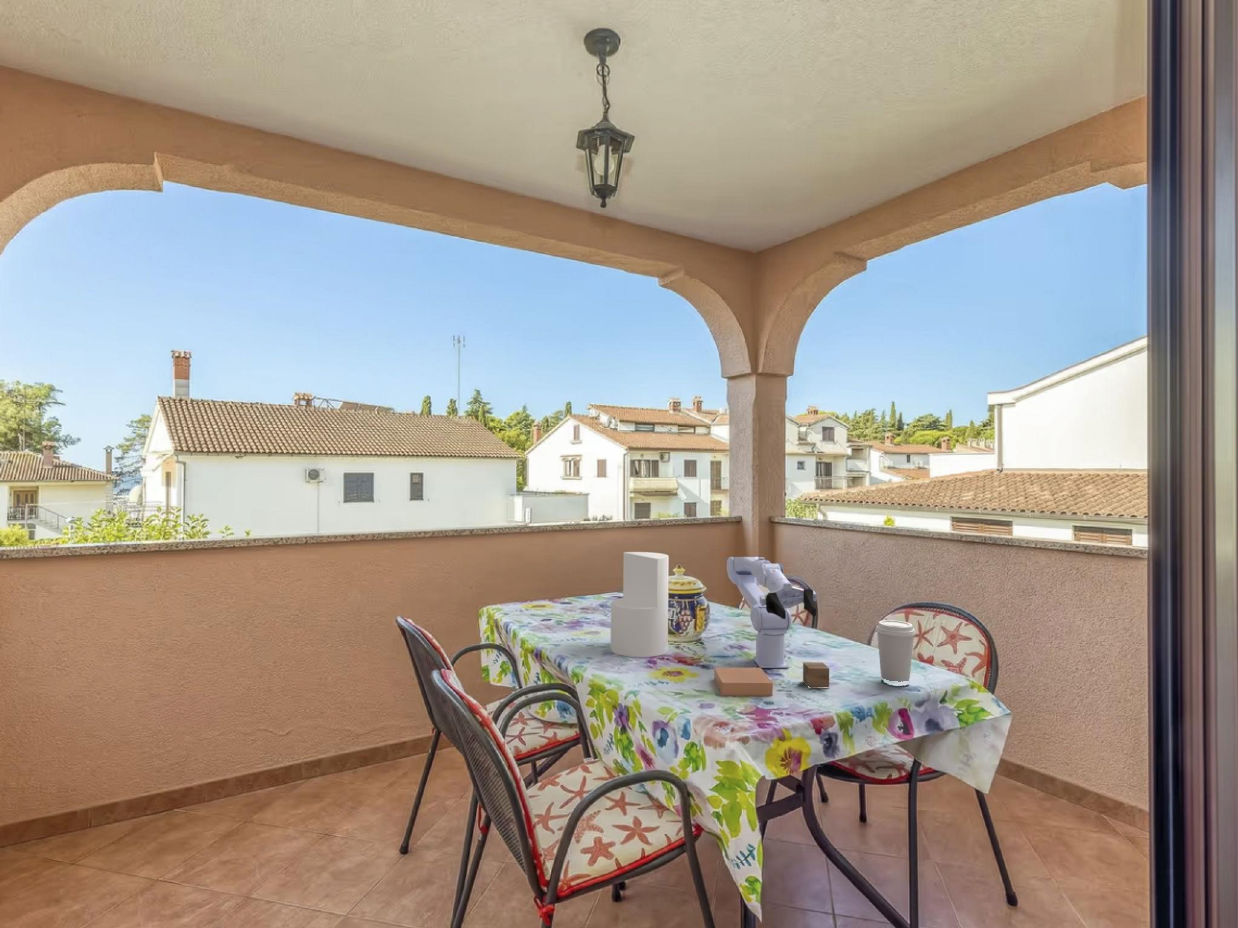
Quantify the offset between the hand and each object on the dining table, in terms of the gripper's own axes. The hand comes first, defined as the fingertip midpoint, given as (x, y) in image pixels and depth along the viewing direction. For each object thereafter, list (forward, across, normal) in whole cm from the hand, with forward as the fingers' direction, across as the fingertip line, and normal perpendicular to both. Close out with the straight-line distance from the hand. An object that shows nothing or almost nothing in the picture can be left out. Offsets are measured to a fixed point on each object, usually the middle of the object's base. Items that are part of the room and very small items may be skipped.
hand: (799, 613), depth 158 cm
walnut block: (+2, +4, +19) cm, 20 cm away
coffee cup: (+2, +25, +21) cm, 33 cm away
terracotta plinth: (+3, -15, +17) cm, 23 cm away
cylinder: (-32, -37, +26) cm, 55 cm away
